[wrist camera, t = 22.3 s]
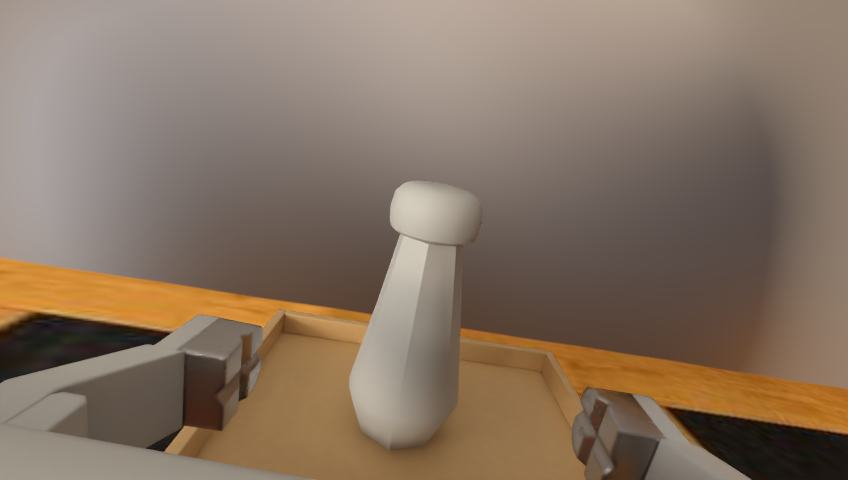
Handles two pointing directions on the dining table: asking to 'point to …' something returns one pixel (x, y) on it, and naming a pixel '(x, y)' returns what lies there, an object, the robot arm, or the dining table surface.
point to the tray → (364, 457)
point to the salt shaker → (416, 319)
